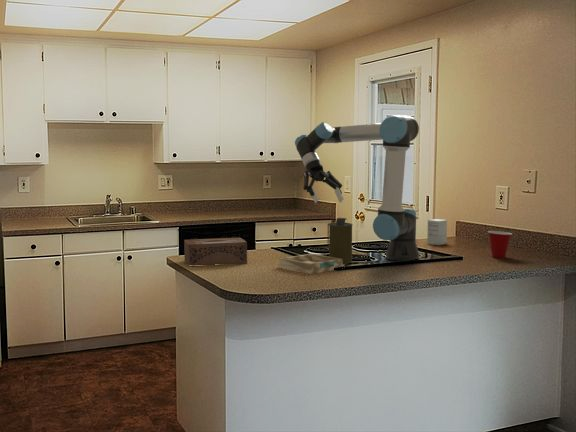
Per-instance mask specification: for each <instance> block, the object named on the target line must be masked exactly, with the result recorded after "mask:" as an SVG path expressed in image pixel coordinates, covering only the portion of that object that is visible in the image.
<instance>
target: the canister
mask: <svg viewBox="0 0 576 432" xmlns="http://www.w3.org/2000/svg"><path fill="white" fill-rule="evenodd" d="M346 220H348V219H347V218H346V217H338V218H336V220H335V222H328V223H327V248H328V249H329V251H328V256H329V257H334V258H340V259H343V264H345V263H353V250H352V249H353V223H350V222H346Z"/></svg>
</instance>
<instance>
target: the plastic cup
mask: <svg viewBox="0 0 576 432" xmlns="http://www.w3.org/2000/svg"><path fill="white" fill-rule="evenodd" d="M487 233H488V236H489V244H490V245H489V246H490V251H491V256H492V258H496V259H505V258H506V256H507V250H508V248H509V243H510V238H511V236H512V235H513V233H512V232H508V231H498V230H487Z"/></svg>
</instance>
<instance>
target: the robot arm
mask: <svg viewBox="0 0 576 432" xmlns="http://www.w3.org/2000/svg"><path fill="white" fill-rule="evenodd" d="M419 131H420V126H419V123H418V121H417V120H416V119H415V118H414V117H412V116H409V115H399V114H396V115H394V114H393V115H390V116H387V117H386V118H384V120H382V122H379V123H378V122H377V123H368V124H355V125H344V126H343V125H342V126H331V125H330V124H329V123H327V122H324V121H323V122H320V123H319V124H318V125H317V126H315V127H314V128H313V130H312V131H310V132H309V134H302V135H300V136H298V137H297V138H295V140H294V145H295V148H296V151H297V152H298V155H299V157H300V159H301V161H302V163H303V166H304V167H305V171H304V173H303V191H306V192H307V193H309V195H310V197H312V199H313V202H314V204H317V203H318V201H320V198H319V195H318V194H317V191H316V189H315V188H314V186H313V185H314V184H315V182H322V183H323V184H326V185H328V186H329V187H331V189H332V190H334V194H335V196H336V198H337V200H338V202H339V203H342V202H343V200H345V199H344V196H343V195H342V194H343V193H342V190H341V188H343V183H341V182H340V181H339V180H338V179H337V178H336V176H334V175H333V174H332V172H331V171H330V170H327V171H326V172H325V171H324V167H323V164H322V162H321V159H320V158H319V156H318V153H317V152H316V151H317V149H318V148H320V147H321V146H322V144H339V143H340V144H341V143H350V142H351V143H352V142H367V141H369V142H370V141H381V140H382V147H383V149H384V150H385V157H384V172H383V186H382V197H381V199H382V200H381V205H380V206H378V208H377V216H376V217H375V218H374V219H373V223H372V229H373V232H374V234H375V235H376V236H377V238H379V239H381V240H383V241H389V243H388V247H387V249H386V252H385V259H386V258H387V260H389V259H390V260H389V261H395V260H414V261H416V260H415V259H418V260H420V253H419V248H418V245H417V242H416V239H417V237H416V235H417V212H416V210H415V209H411V208H404V207H403V206H402V205H403V204H402V203H403V192H404V191H403V190H404V179H405V178H404V177H405V165H406V164H405V163H406V155H407V154H406V153H407V151H408V150H409V149H410V148H411V142H412V141H414V140H415V139H416V138H417V136H418V135H419ZM310 178H311V180H310V183H309V179H310Z"/></svg>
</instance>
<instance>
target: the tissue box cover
mask: <svg viewBox="0 0 576 432" xmlns="http://www.w3.org/2000/svg"><path fill="white" fill-rule="evenodd" d="M183 245H184V249H183V250H184V262H185V261H186V262H185V264H186V263H187V264H188V265H215V264H236V265H248V242H247V241H246V240H245V239H243V238H241V237H226V238H224V237H223V238H221V237H220V238H200V239H193V238H192V239H183ZM187 264H186V265H187ZM188 265H187V266H188Z"/></svg>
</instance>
